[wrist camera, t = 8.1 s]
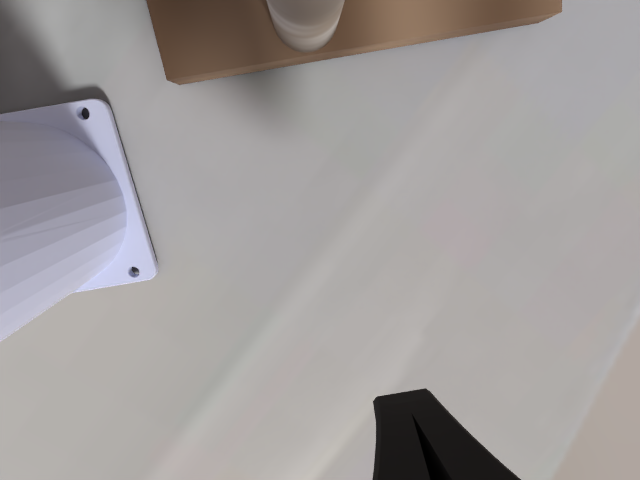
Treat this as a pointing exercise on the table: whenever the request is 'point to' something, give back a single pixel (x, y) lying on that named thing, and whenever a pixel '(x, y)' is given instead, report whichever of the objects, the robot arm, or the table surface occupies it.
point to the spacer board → (361, 30)
